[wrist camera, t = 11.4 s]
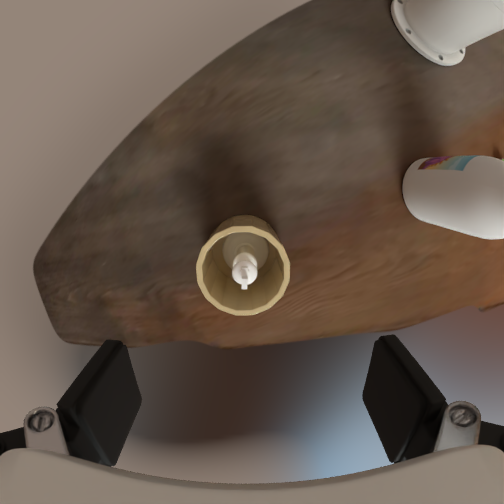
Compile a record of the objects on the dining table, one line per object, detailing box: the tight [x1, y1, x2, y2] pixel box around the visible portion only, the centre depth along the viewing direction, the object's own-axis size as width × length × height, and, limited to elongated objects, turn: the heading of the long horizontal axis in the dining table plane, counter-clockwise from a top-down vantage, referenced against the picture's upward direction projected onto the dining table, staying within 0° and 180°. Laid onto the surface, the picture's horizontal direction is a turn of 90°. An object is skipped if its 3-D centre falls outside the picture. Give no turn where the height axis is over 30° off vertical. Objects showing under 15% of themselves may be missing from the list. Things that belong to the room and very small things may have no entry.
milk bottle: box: [402, 156, 504, 239], centre depth 20 cm, size 8×8×20 cm
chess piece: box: [222, 232, 269, 289], centre depth 26 cm, size 5×5×10 cm
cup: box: [196, 215, 290, 315], centre depth 27 cm, size 8×8×8 cm
